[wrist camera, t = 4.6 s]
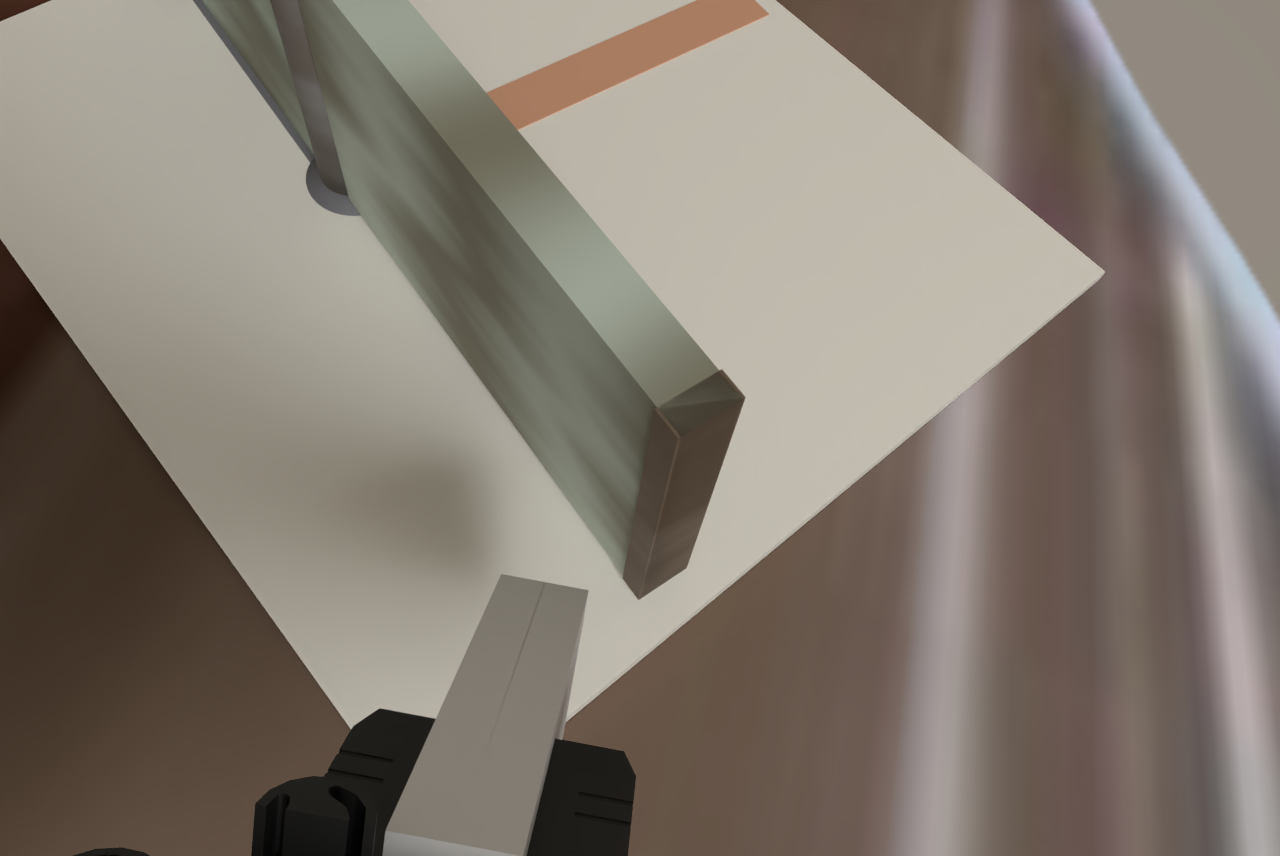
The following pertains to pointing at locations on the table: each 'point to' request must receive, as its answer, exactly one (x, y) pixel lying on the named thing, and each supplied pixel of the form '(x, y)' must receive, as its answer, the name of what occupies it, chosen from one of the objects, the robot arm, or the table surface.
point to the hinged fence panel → (517, 278)
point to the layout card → (427, 357)
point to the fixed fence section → (261, 51)
